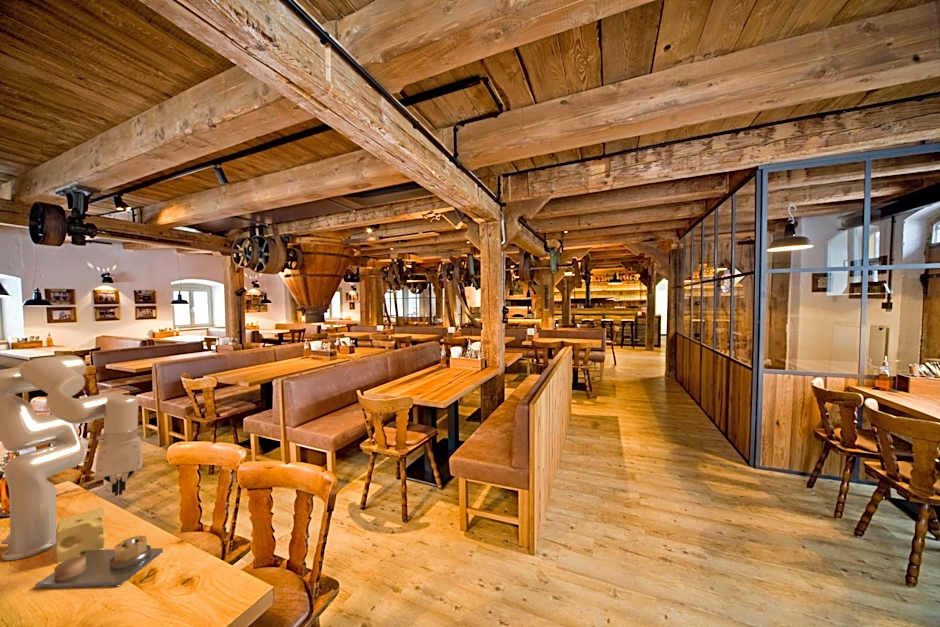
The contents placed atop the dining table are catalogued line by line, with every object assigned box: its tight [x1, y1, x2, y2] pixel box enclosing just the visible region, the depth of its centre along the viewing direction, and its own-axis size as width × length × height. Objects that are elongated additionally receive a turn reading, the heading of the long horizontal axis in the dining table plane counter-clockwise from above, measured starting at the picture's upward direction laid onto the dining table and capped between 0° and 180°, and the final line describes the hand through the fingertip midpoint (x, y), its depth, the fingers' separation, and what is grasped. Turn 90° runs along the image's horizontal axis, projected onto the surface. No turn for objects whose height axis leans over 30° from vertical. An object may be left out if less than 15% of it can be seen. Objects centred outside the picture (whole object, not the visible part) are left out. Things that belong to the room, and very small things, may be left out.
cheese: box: [55, 506, 106, 564], centre depth 113 cm, size 10×11×10 cm
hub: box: [110, 537, 152, 570], centre depth 106 cm, size 9×9×7 cm
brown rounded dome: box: [54, 555, 86, 582], centre depth 100 cm, size 6×6×4 cm
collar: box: [113, 535, 148, 563], centre depth 106 cm, size 7×7×4 cm
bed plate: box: [34, 547, 163, 590], centre depth 104 cm, size 23×14×1 cm, turn 92°
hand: (118, 493), depth 109 cm, fingers closed
